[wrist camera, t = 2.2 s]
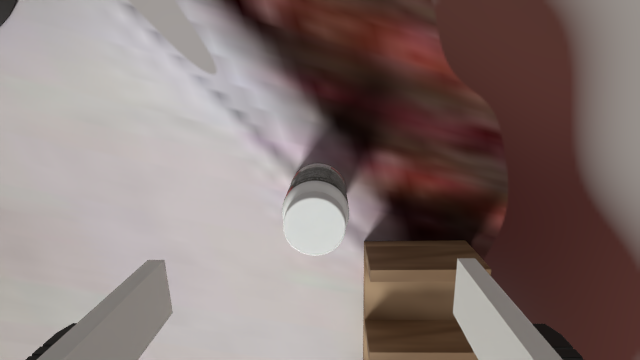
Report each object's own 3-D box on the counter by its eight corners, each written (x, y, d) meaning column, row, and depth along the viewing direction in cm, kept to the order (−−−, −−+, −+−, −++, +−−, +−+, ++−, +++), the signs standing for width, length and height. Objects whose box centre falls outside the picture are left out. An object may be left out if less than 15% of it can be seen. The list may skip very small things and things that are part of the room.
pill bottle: (287, 166, 28) (269, 195, 20) (341, 158, 28) (346, 186, 20) (296, 217, 30) (282, 265, 22) (348, 211, 29) (355, 256, 21)
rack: (364, 241, 30) (370, 270, 25) (465, 240, 30) (491, 269, 25) (363, 384, 34) (368, 432, 29) (451, 384, 34) (471, 433, 29)
